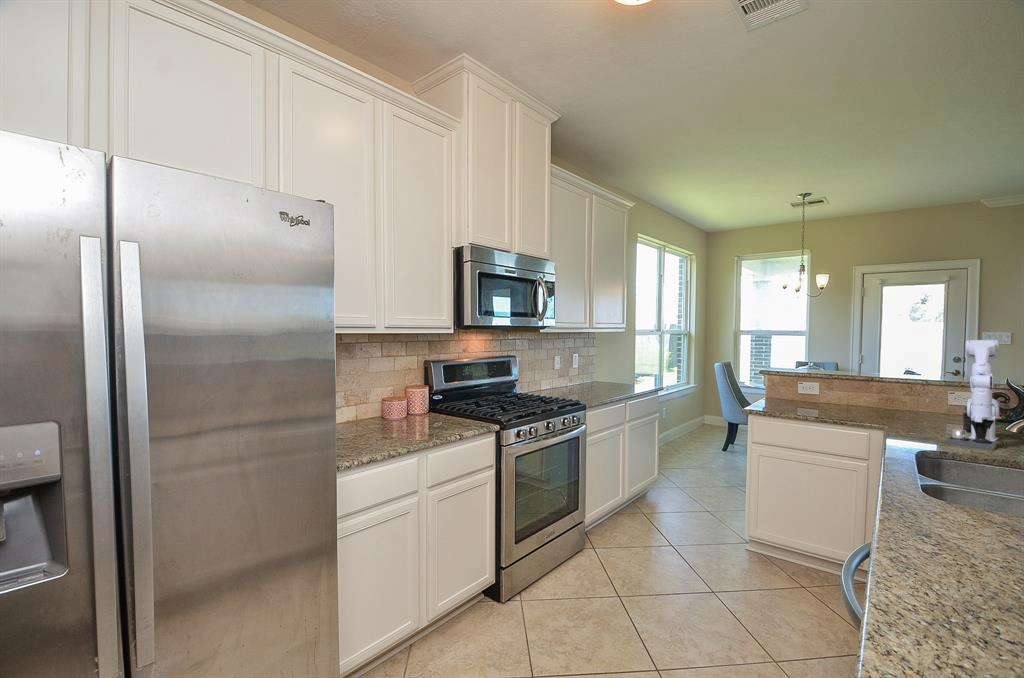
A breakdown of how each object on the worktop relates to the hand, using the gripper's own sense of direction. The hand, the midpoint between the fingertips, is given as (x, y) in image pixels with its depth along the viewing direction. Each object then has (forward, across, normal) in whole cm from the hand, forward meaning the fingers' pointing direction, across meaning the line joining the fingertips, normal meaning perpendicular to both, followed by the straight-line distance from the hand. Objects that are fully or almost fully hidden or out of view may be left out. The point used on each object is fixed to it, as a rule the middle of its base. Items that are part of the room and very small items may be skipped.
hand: (982, 438), depth 180 cm
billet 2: (+2, 0, 0) cm, 2 cm away
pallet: (+4, 0, +3) cm, 5 cm away
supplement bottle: (+4, +42, +9) cm, 44 cm away
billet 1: (+4, 0, +7) cm, 8 cm away
